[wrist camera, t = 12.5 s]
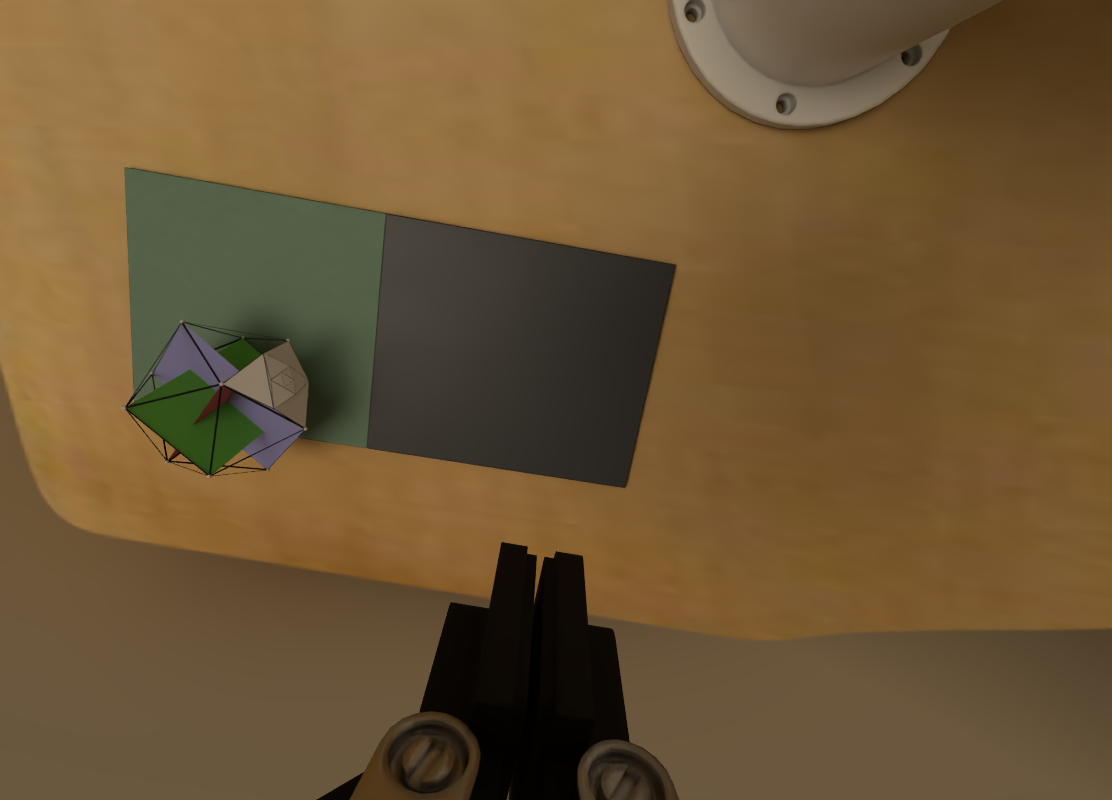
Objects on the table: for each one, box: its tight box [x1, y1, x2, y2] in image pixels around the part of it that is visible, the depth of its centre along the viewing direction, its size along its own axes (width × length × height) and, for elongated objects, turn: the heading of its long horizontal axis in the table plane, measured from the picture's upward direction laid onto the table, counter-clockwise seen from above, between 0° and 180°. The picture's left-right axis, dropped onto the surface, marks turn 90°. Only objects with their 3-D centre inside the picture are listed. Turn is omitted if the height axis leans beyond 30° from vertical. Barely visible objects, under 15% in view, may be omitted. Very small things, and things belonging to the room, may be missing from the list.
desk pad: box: [125, 167, 675, 488], centre depth 29 cm, size 12×26×1 cm, turn 80°
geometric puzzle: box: [122, 320, 309, 478], centre depth 26 cm, size 7×7×8 cm
